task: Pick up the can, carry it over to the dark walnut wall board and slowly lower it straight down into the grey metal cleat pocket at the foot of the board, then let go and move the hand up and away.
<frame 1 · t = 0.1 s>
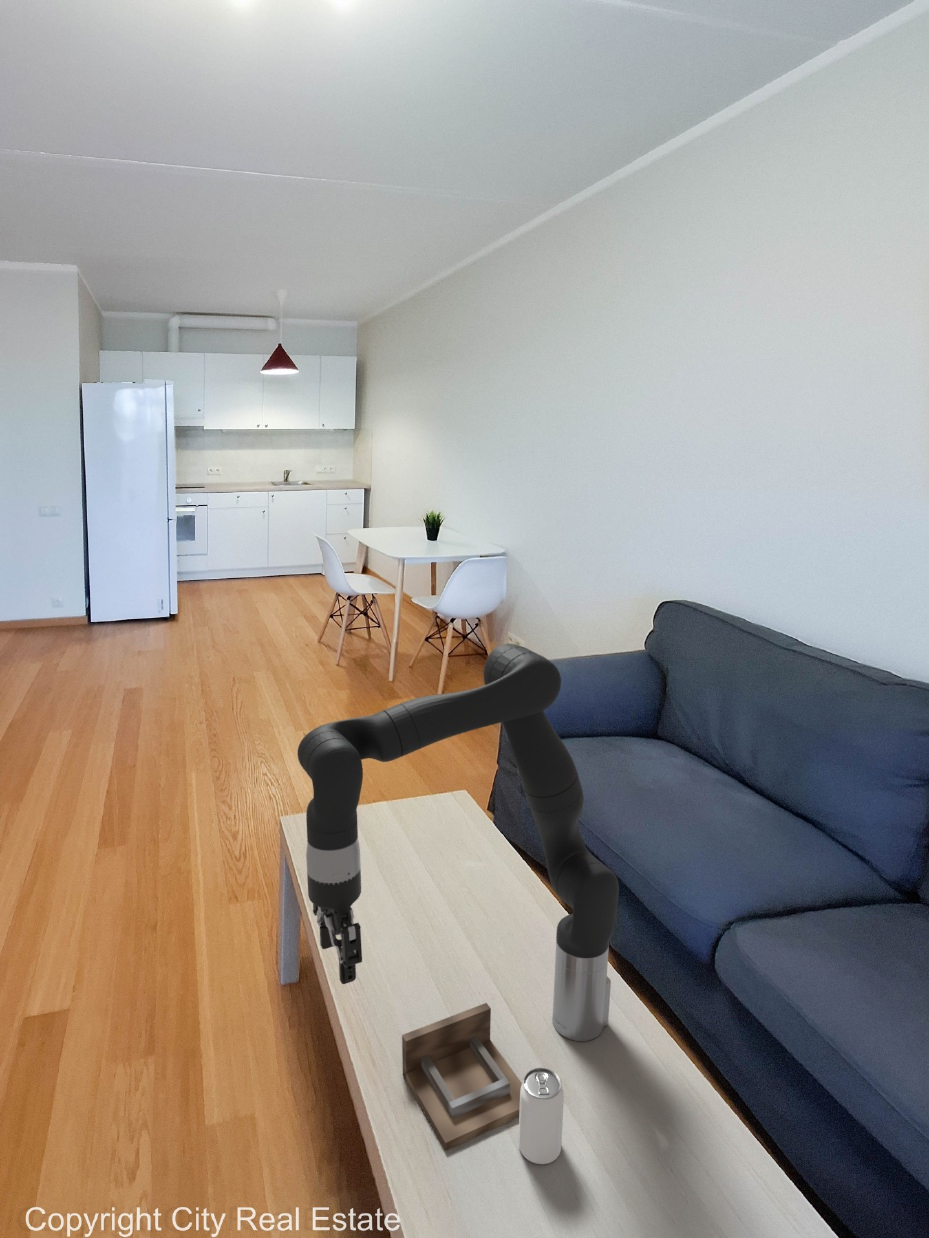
hand: (337, 963, 118), 29 cm above the table, tool pointing down, fingers open, 8 cm apart
can: (539, 1147, 122), on the table
wall board: (467, 1091, 131), on the table
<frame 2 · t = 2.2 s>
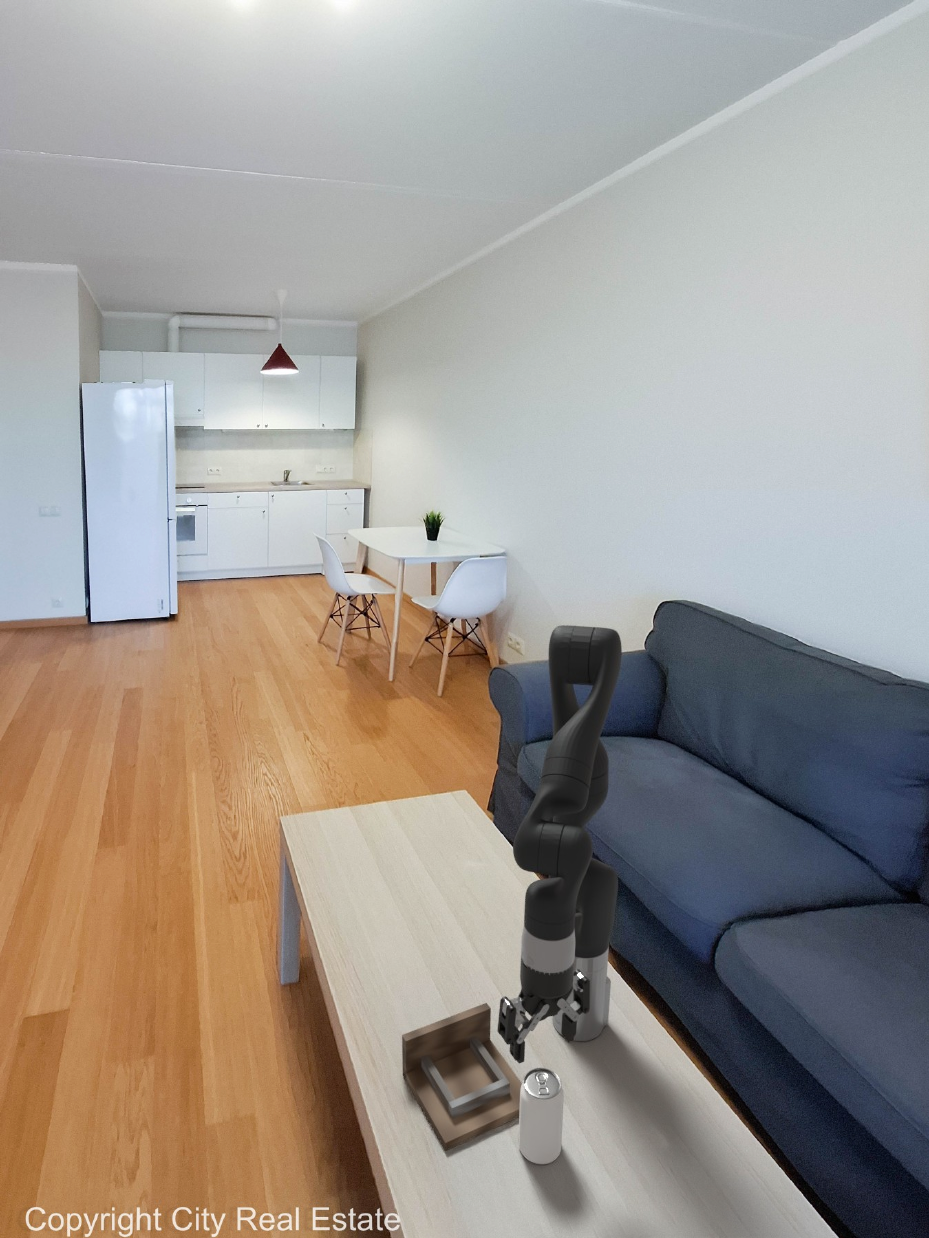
hand: (542, 1048, 117), 18 cm above the table, tool pointing down, fingers open, 8 cm apart
nothing on the table moved.
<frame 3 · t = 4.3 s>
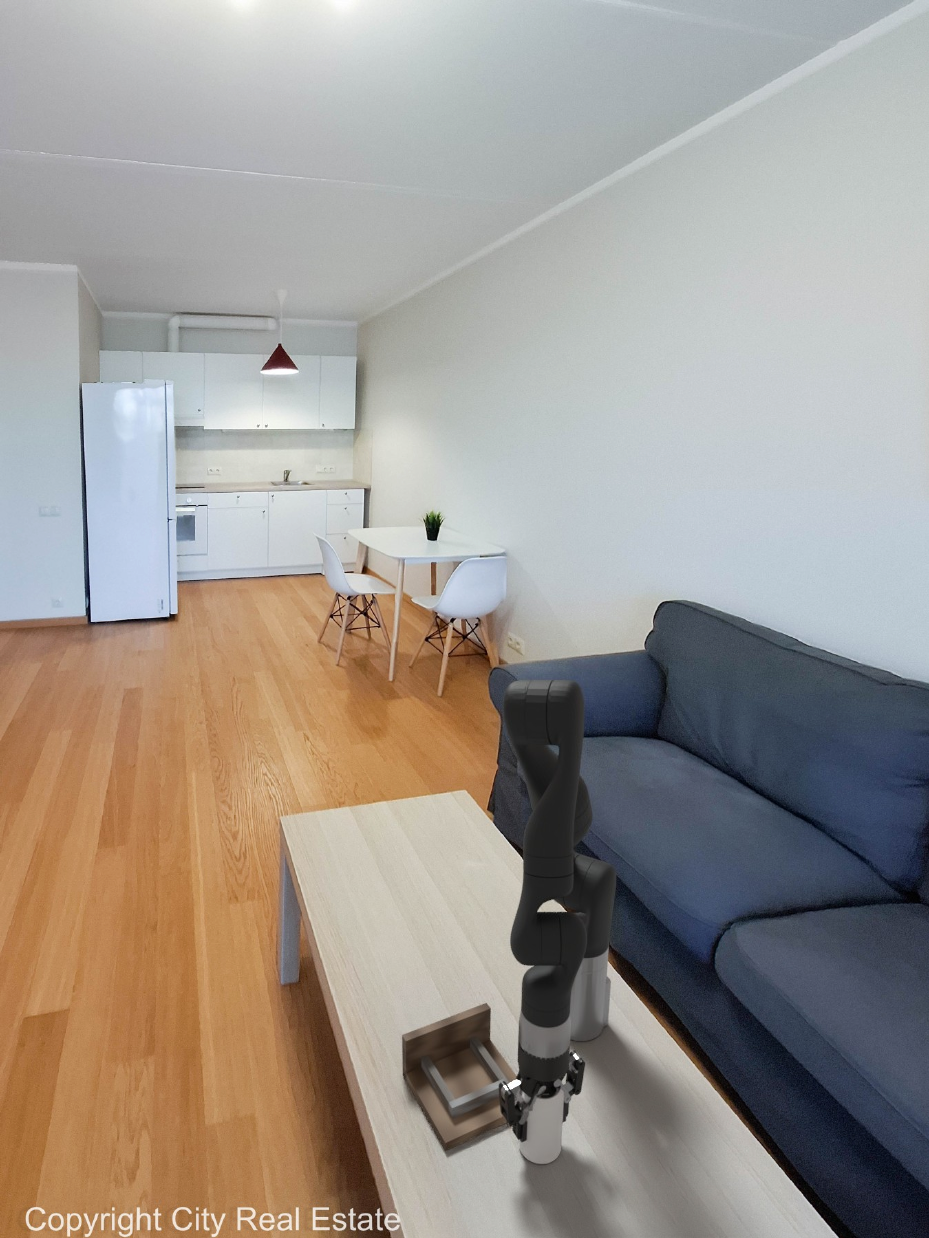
hand: (540, 1127, 121), 4 cm above the table, tool pointing down, fingers closed on can, 6 cm apart
can: (539, 1147, 122), on the table, touching gripper
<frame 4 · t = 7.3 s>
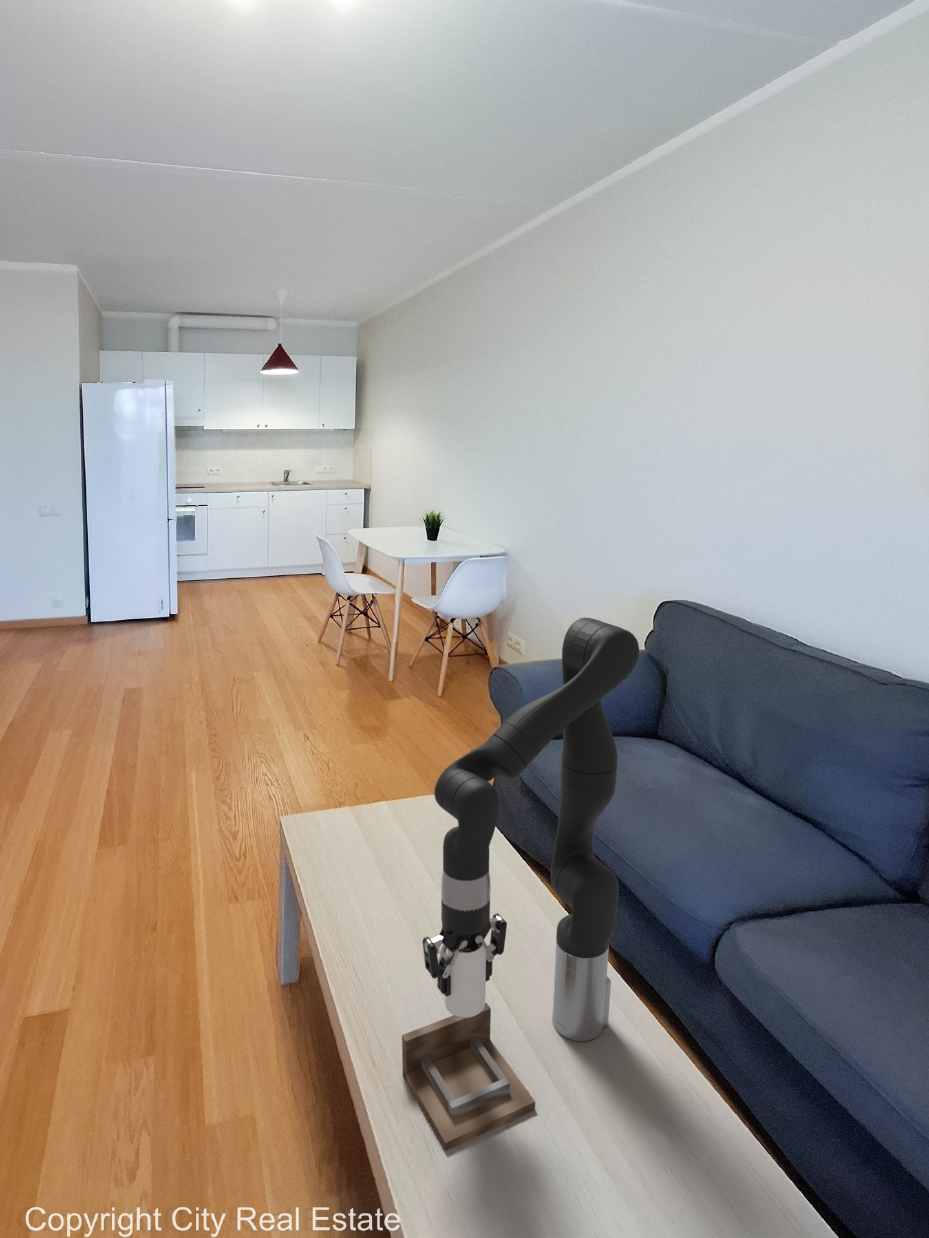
hand: (464, 985, 128), 20 cm above the table, tool pointing down, fingers closed on can, 6 cm apart
can: (464, 1005, 129), point 16 cm above the table, touching gripper
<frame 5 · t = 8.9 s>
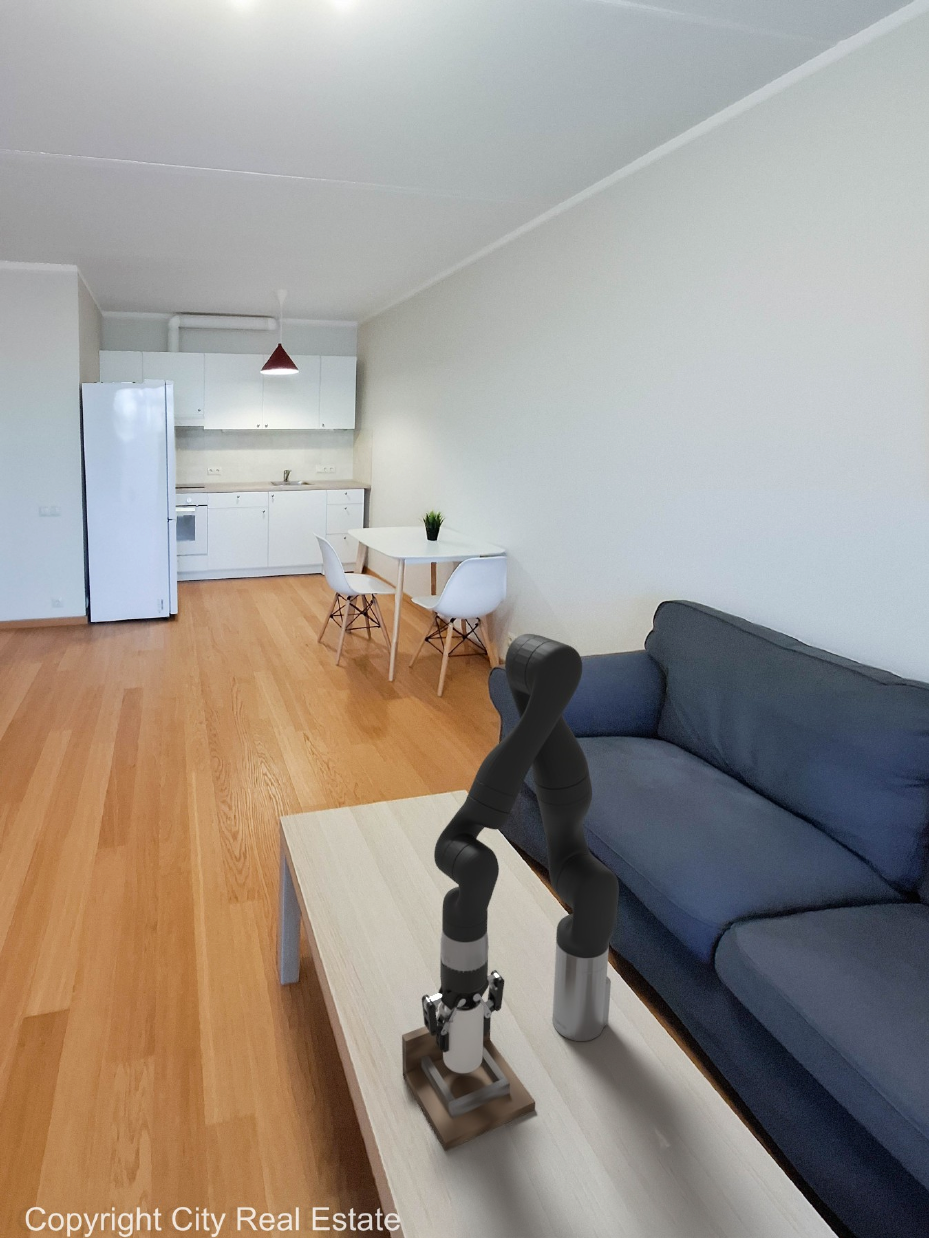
hand: (462, 1040, 130), 9 cm above the table, tool pointing down, fingers closed on can, 6 cm apart
can: (462, 1060, 132), point 5 cm above the table, touching gripper
when the fingers open (6 cm above the table, at t = 10.4 s): can stays where it is, resting on wall board.
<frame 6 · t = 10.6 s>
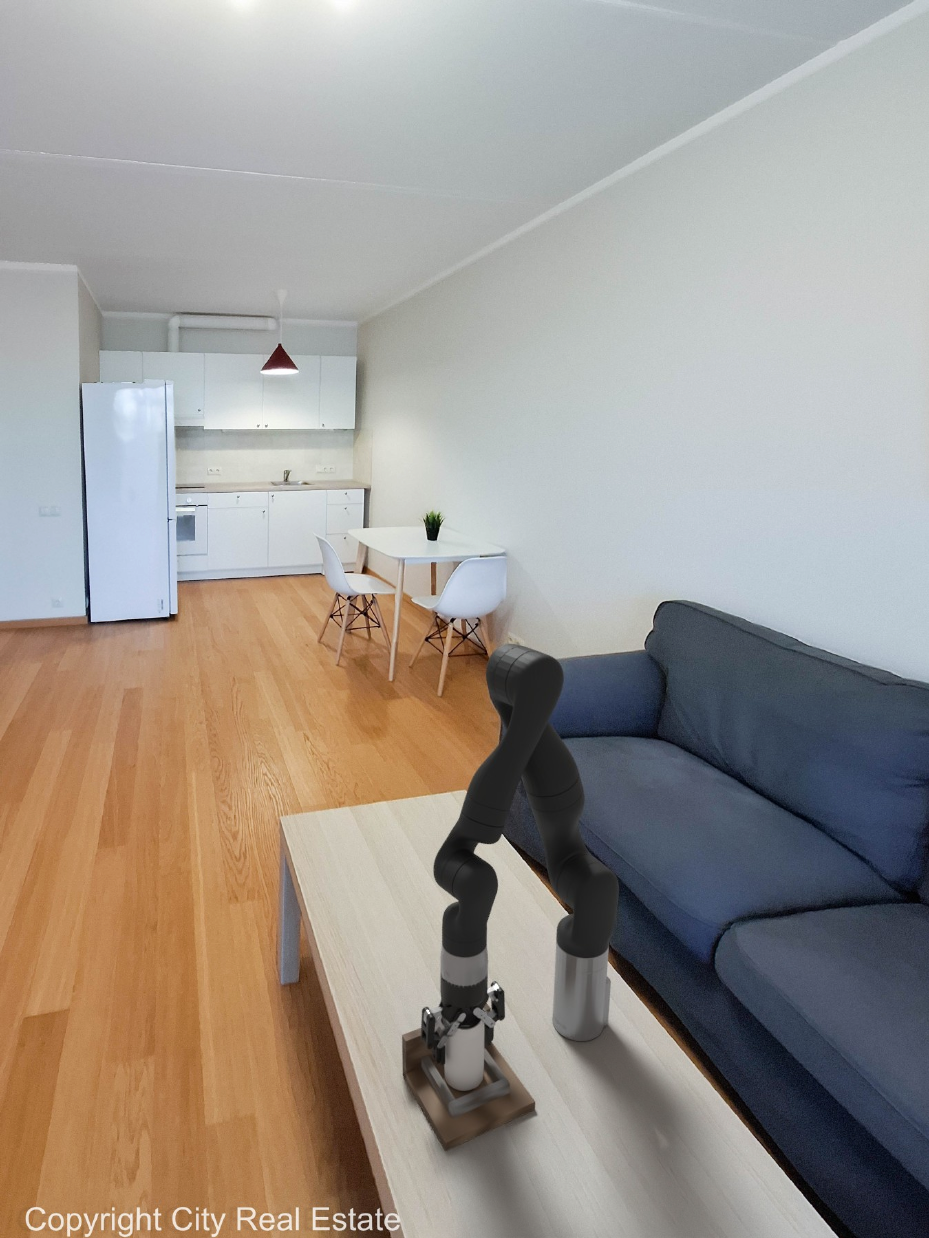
hand: (463, 1051, 131), 7 cm above the table, tool pointing down, fingers open, 8 cm apart
can: (464, 1077, 133), point 1 cm above the table, touching wall board
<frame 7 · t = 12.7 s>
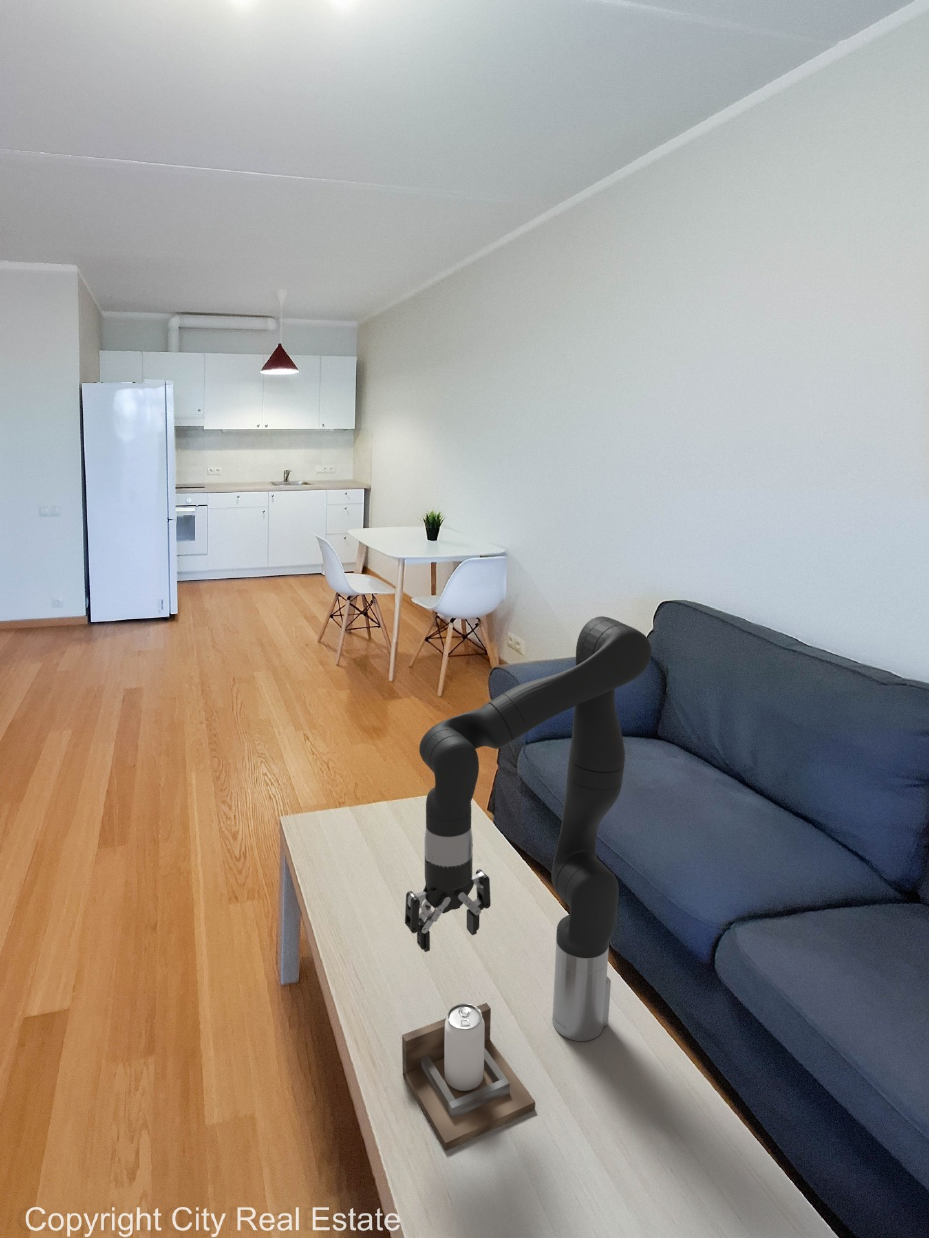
hand: (448, 940, 130), 25 cm above the table, tool pointing down, fingers open, 8 cm apart
nothing on the table moved.
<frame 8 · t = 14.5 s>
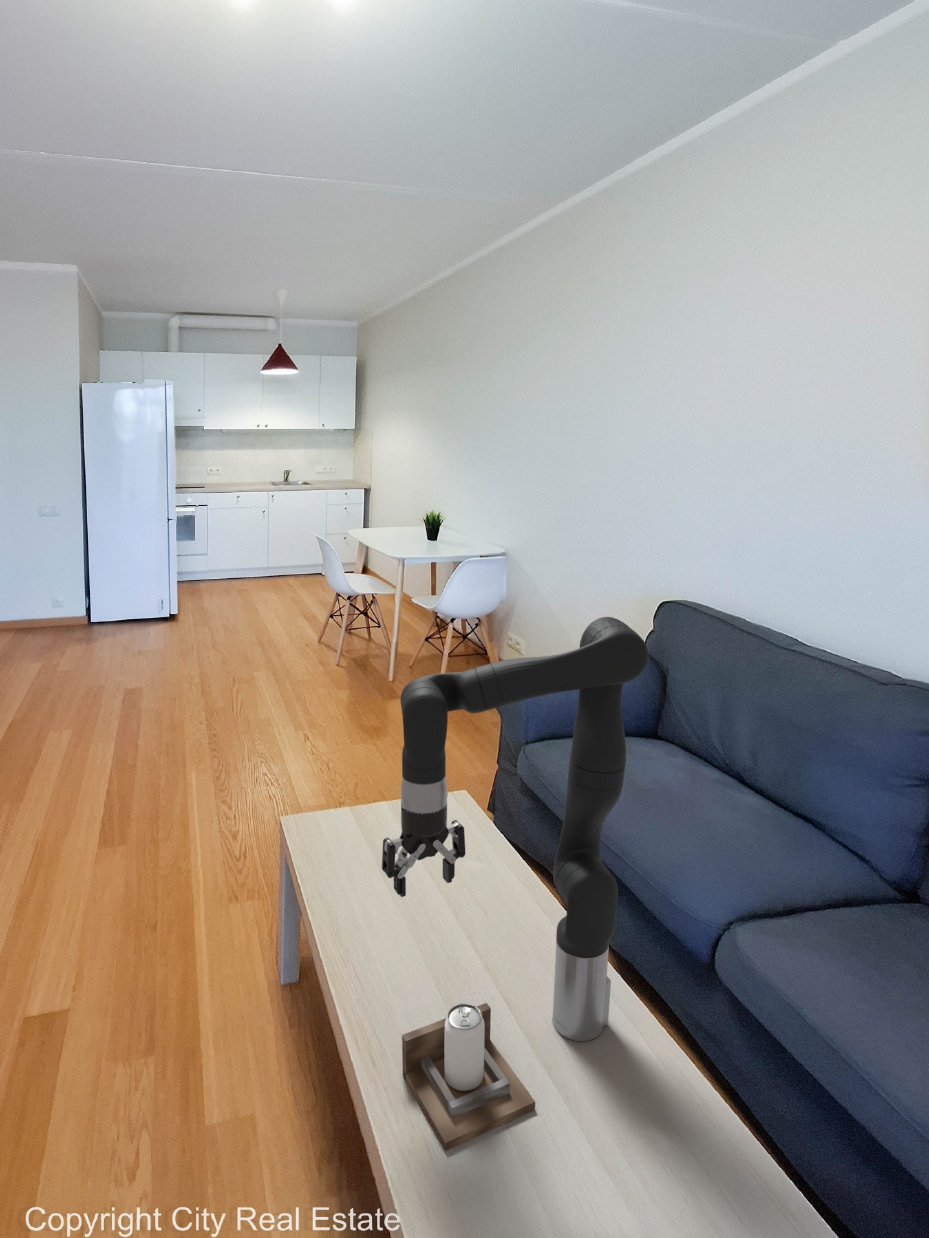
hand: (424, 887, 135), 30 cm above the table, tool pointing down, fingers open, 8 cm apart
nothing on the table moved.
at the end: can 0.2 cm from the target spot on the wall board, point 1.3 cm above the wall board's base; can tilted 0°; the gripper is holding nothing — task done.
